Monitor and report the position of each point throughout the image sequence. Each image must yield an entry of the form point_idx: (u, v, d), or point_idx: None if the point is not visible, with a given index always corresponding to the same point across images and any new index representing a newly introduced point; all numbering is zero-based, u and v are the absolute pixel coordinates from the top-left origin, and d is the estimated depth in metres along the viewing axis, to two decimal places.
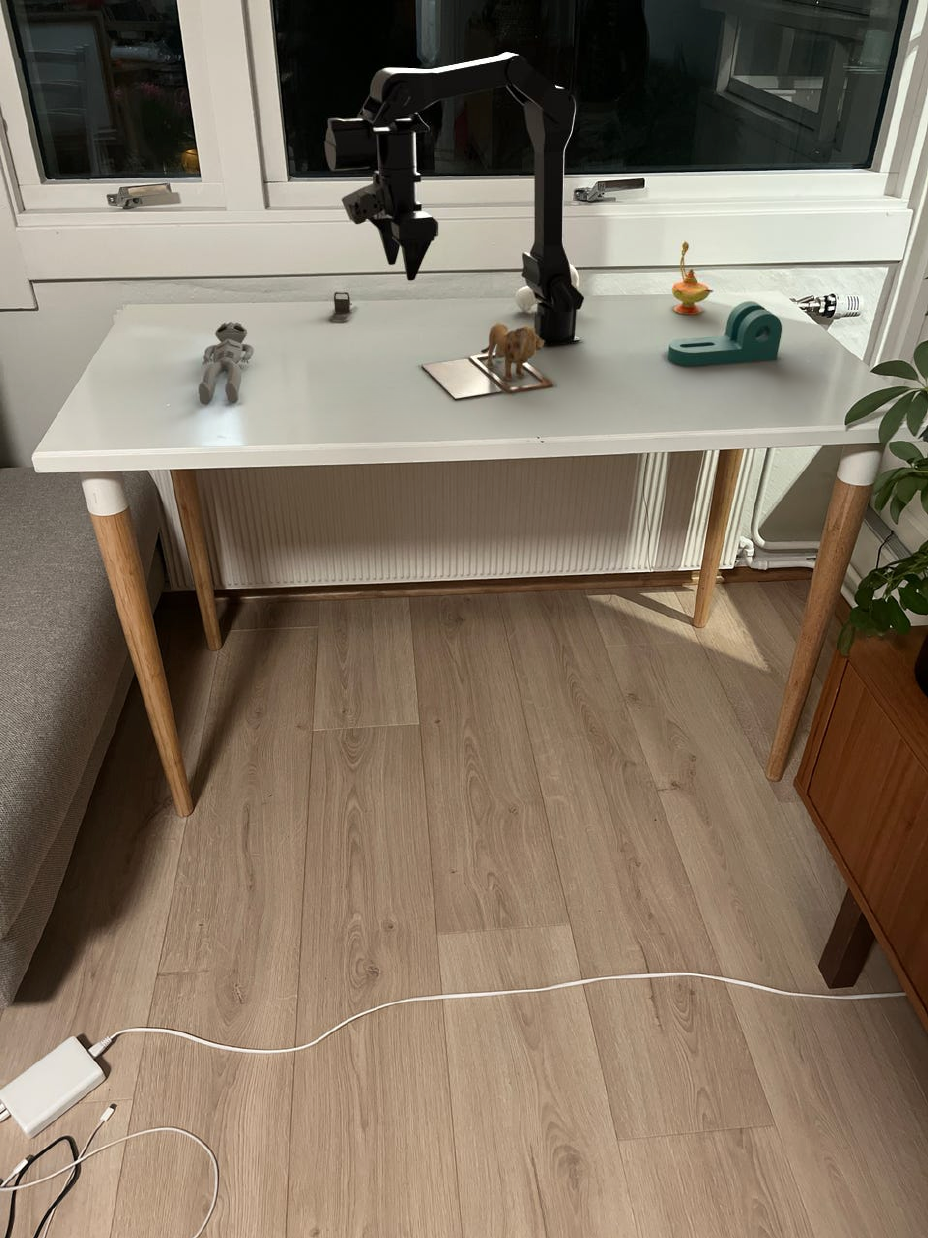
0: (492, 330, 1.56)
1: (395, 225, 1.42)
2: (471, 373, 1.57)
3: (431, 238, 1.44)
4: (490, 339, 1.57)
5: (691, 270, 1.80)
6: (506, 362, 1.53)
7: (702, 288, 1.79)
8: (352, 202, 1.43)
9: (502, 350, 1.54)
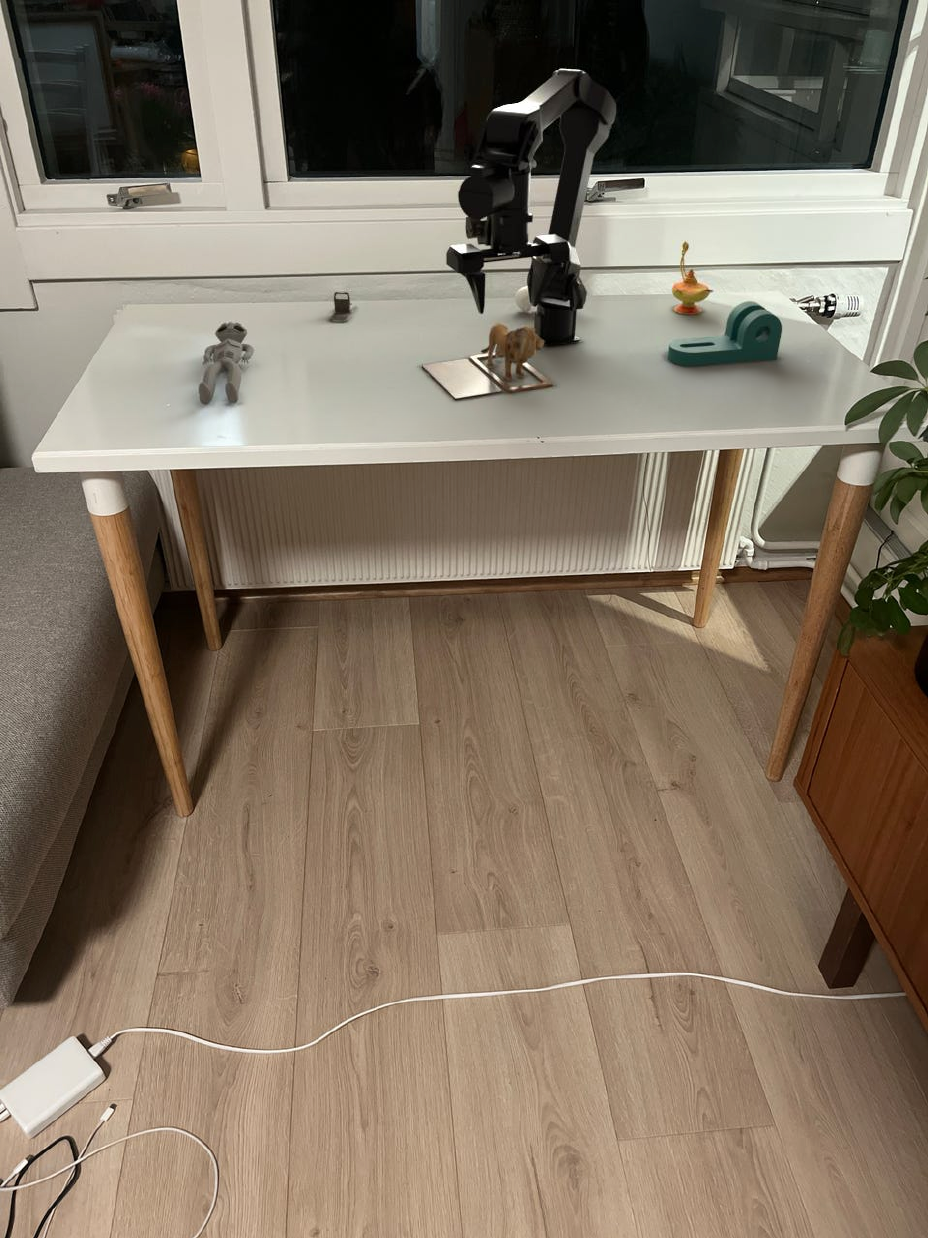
0: (492, 330, 1.56)
1: None
2: (471, 373, 1.57)
3: (465, 275, 1.44)
4: (490, 339, 1.57)
5: (691, 270, 1.80)
6: (506, 362, 1.53)
7: (702, 288, 1.79)
8: None
9: (502, 350, 1.54)
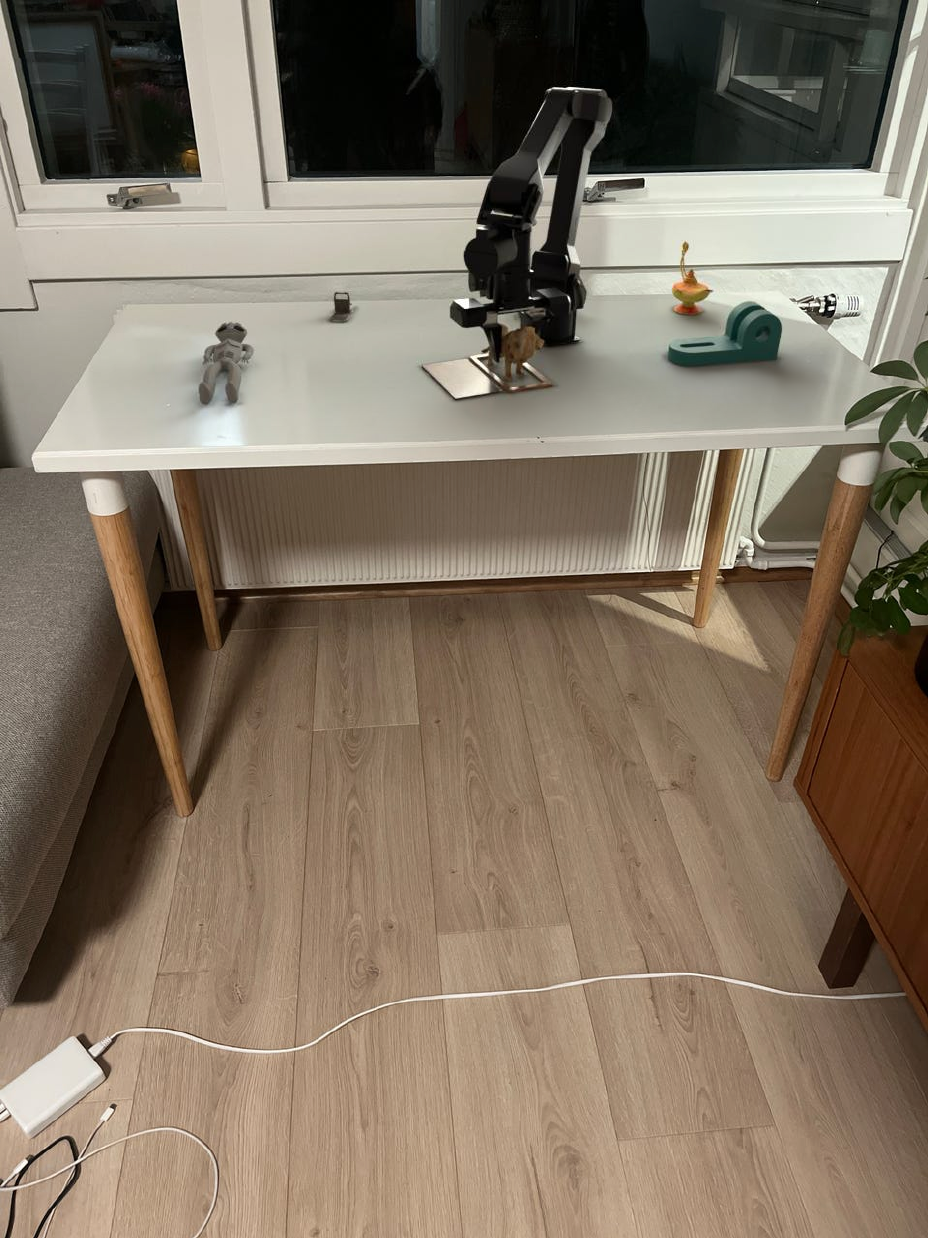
0: None
1: None
2: (471, 373, 1.57)
3: (483, 327, 1.50)
4: None
5: (691, 270, 1.80)
6: (506, 362, 1.53)
7: (702, 288, 1.79)
8: None
9: (502, 350, 1.54)
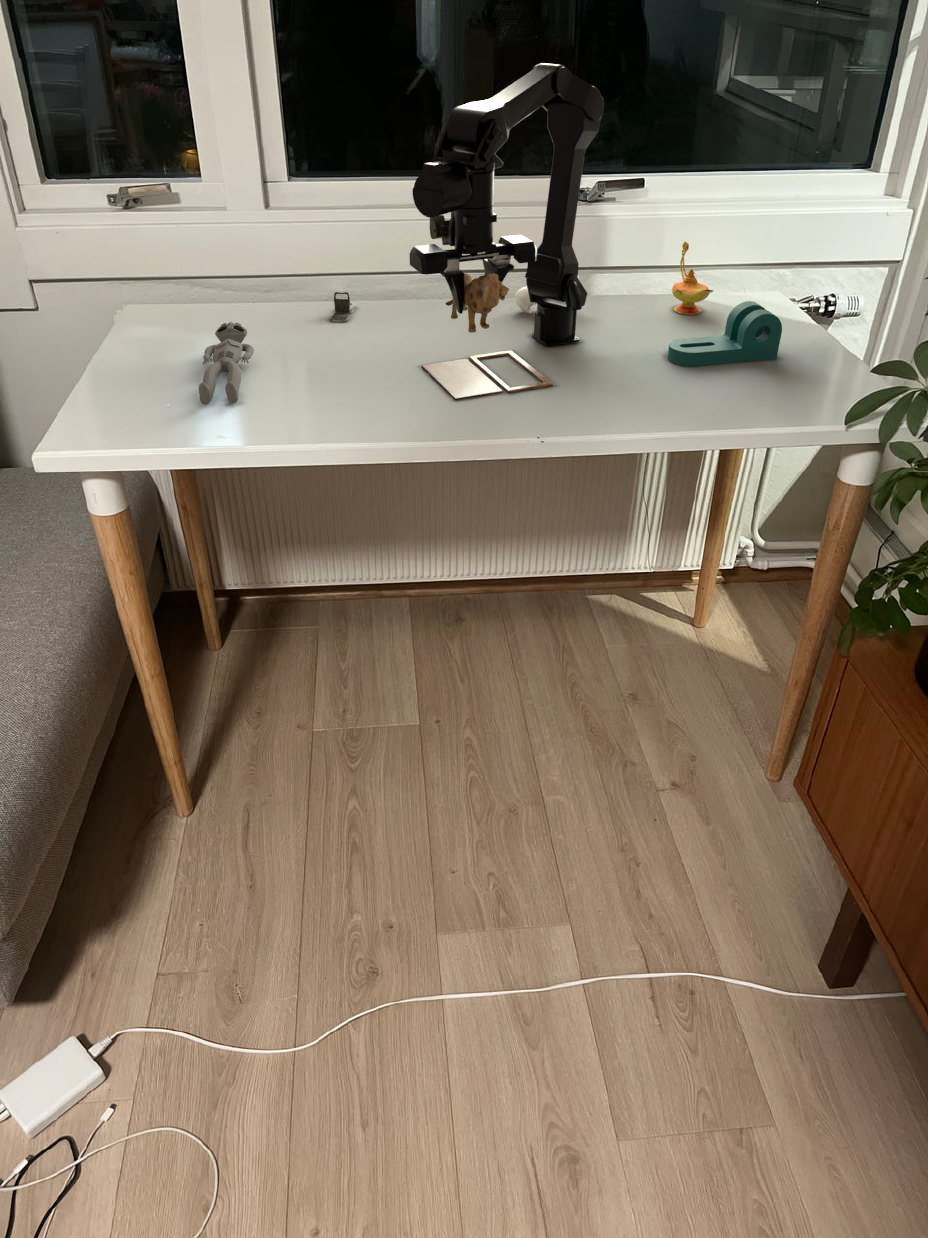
0: None
1: None
2: (471, 373, 1.57)
3: (444, 274, 1.42)
4: None
5: (691, 270, 1.80)
6: (469, 312, 1.46)
7: (702, 288, 1.79)
8: None
9: (465, 300, 1.47)
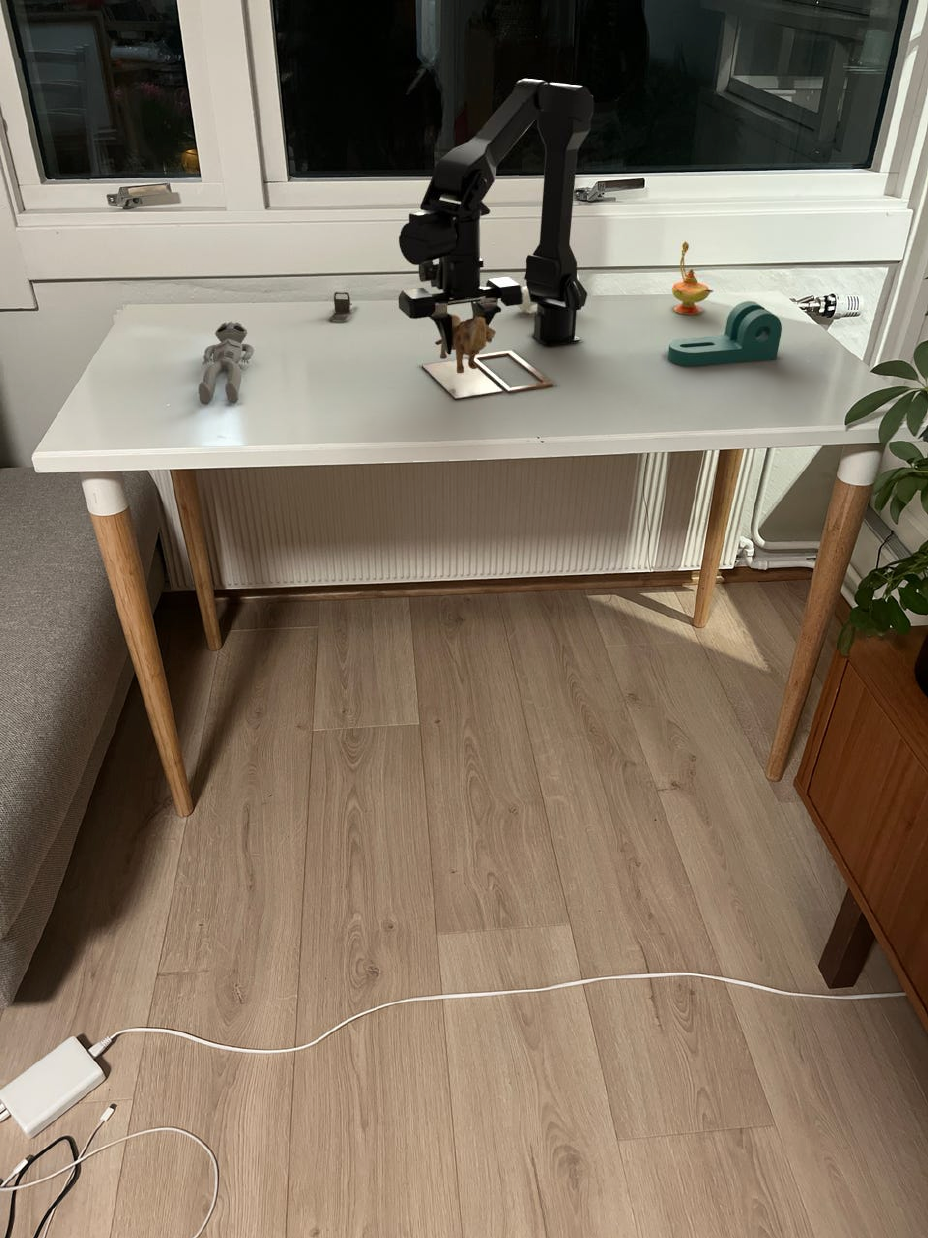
0: None
1: None
2: (471, 373, 1.57)
3: (432, 318, 1.46)
4: None
5: (691, 270, 1.80)
6: (457, 354, 1.49)
7: (702, 288, 1.79)
8: None
9: (453, 341, 1.50)
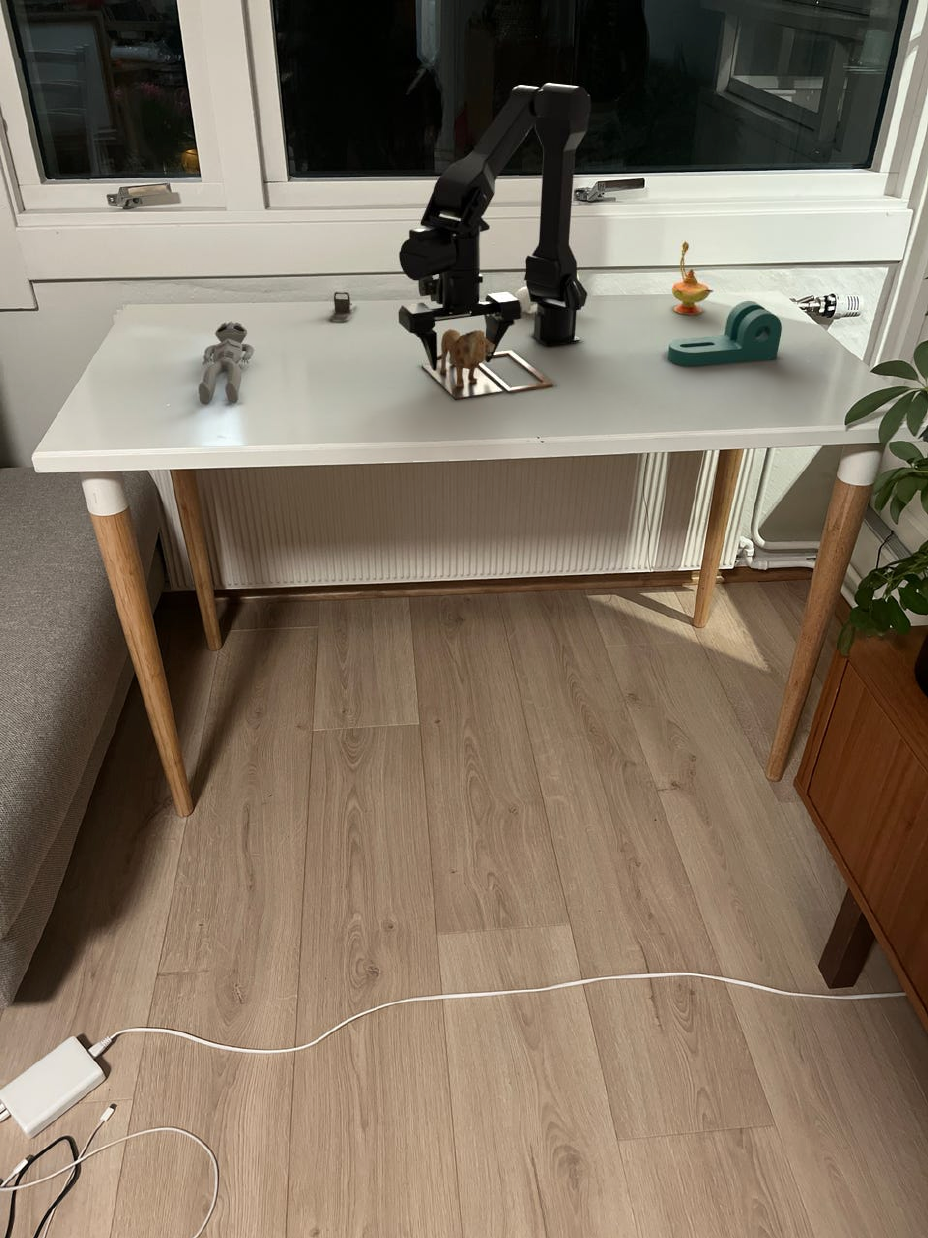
0: (444, 336, 1.54)
1: None
2: None
3: (417, 334, 1.46)
4: (442, 345, 1.55)
5: (691, 270, 1.80)
6: (457, 367, 1.51)
7: (702, 288, 1.79)
8: None
9: (453, 356, 1.51)
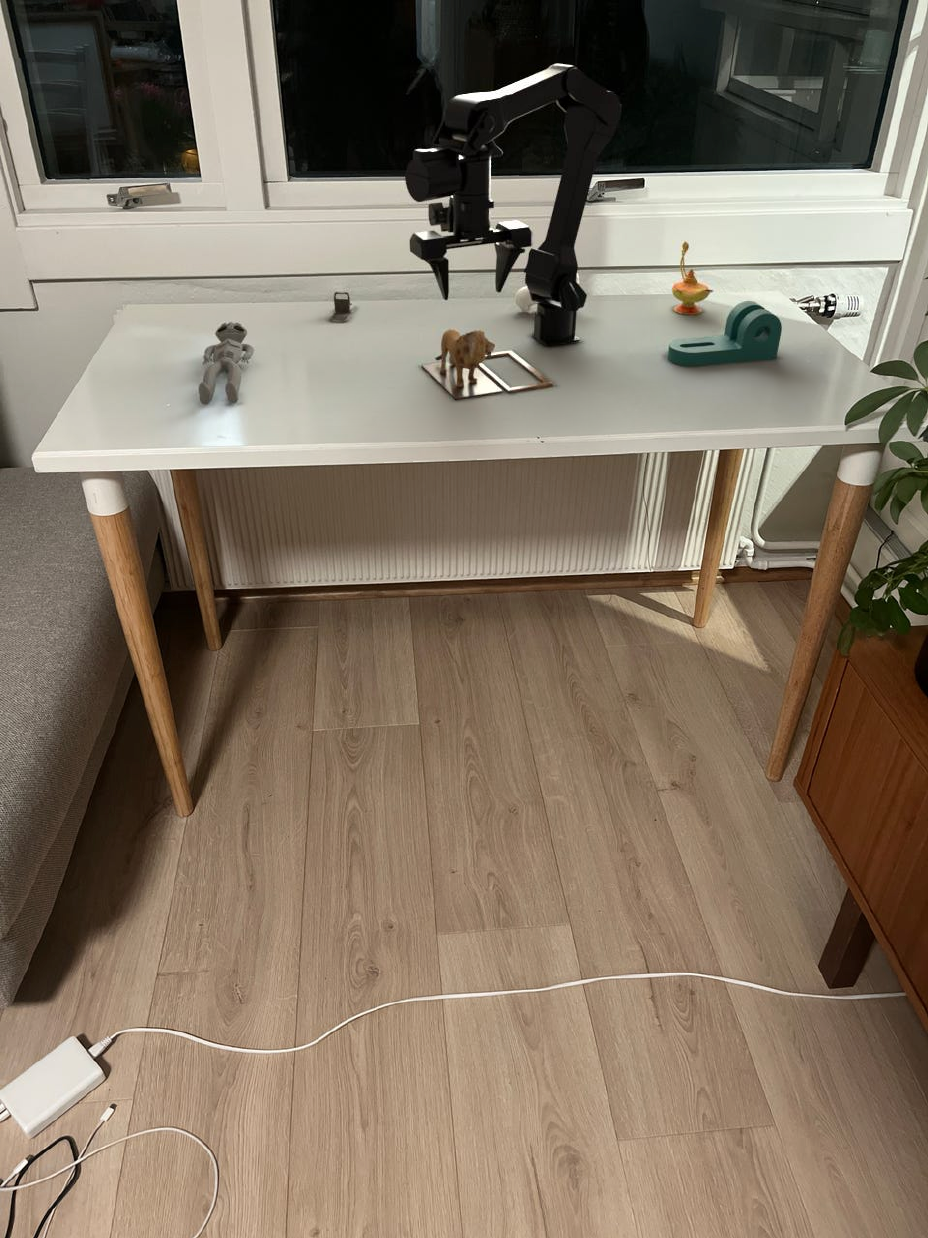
0: (444, 336, 1.54)
1: None
2: None
3: (429, 261, 1.46)
4: (442, 345, 1.55)
5: (691, 270, 1.80)
6: (457, 367, 1.51)
7: (702, 288, 1.79)
8: None
9: (453, 356, 1.51)
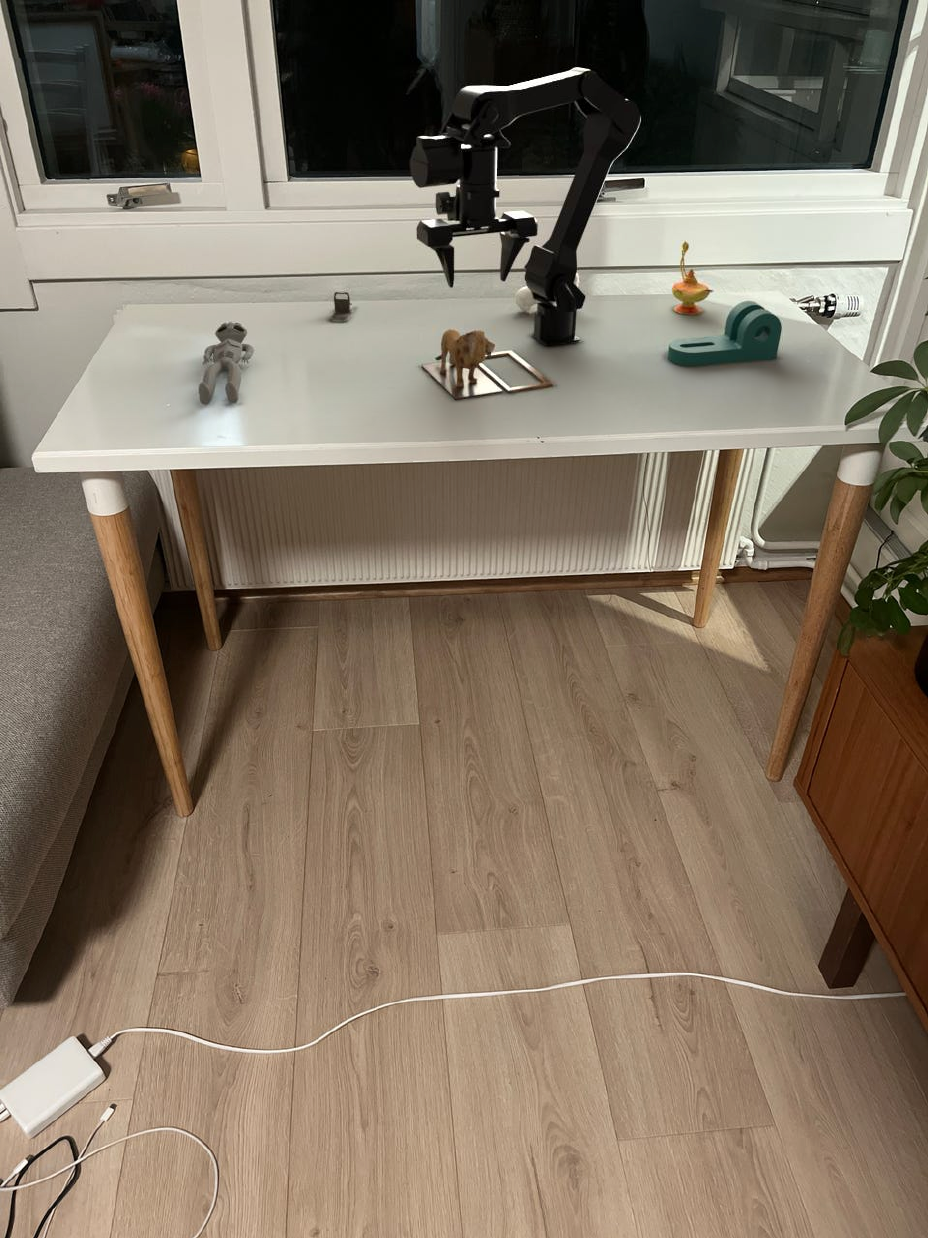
0: (444, 336, 1.54)
1: None
2: None
3: (435, 249, 1.49)
4: (442, 345, 1.55)
5: (691, 270, 1.80)
6: (457, 367, 1.51)
7: (702, 288, 1.79)
8: None
9: (453, 356, 1.51)
